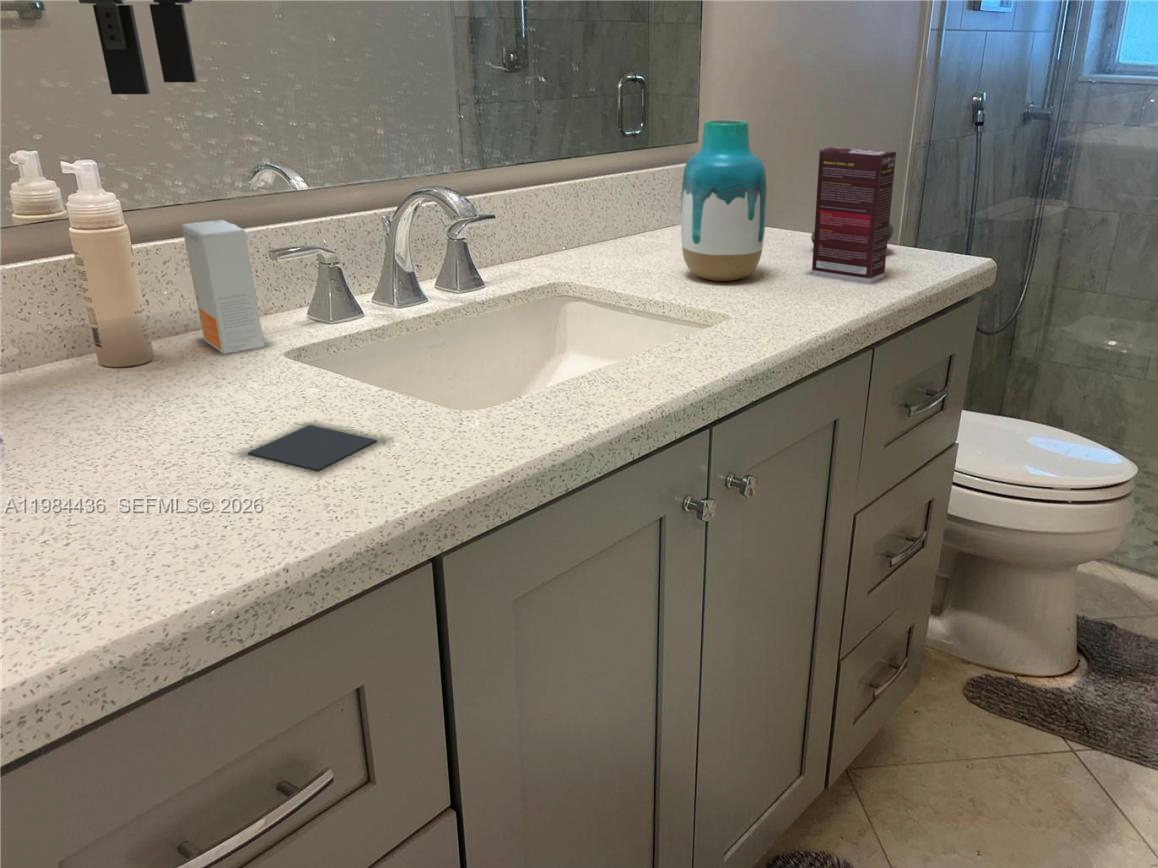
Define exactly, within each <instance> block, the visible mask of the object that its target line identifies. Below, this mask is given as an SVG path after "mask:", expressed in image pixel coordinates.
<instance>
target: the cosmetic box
mask: <svg viewBox="0 0 1158 868" xmlns="http://www.w3.org/2000/svg"><path fill="white" fill-rule="evenodd" d="M181 228H182V233H183V238H184V239H183V240H184V243H185V249H186V254H187V259H188V264H189V270H190V274H191V275H190V276H191V280H192V286H193V290H194V295H195V300H196V306H197V311H198V316H199V323H200V327H201V332H202V338H203V341H204V342H206V343H207V344H209V345H210V346H212V347H213V348H215V349H216V350H218V352H220V353H221V354H222V355H226V354H232V353H237V352H243V351H248V350H253V349H259V348H264V347H265V342H264V335H263V331H262V325H261V319H260V313H259V307H258V301H257V295H256V288H255V283H254V278H253V277H254V276H253V271H252V265H251V258H250V254H249V248H248V242H247V236H246V230H245V229H244V228H241V227H239V226H238V225H237V224H235V223H231V222H228V221H226V220H224V219H217V220H209V221H198V222H189V223H183V224H181Z"/></svg>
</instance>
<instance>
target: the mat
mask: <svg viewBox="0 0 1158 868" xmlns="http://www.w3.org/2000/svg"><path fill="white" fill-rule="evenodd" d="M376 443H378V440H377V439H375V438H371V437H367V436H366V437H365V436H361V435H358V434H357V435H356V434H352V433H349V432H343V431H339V430H334V429H330V428H325V427H321V426H316V425H312V424H308V425H306V426H304V427H301V428H299V429H297V430H295V431H293V432H291V433H288V434H287V435H283V436H282V437H280V438H277V439H275V440H273V441H271V442H268V443H266V444H264V445H262V446H260V447H257V448H254V449H253V450H250V451H248V452H247V455H248V456H252V457H256V458H260V459H263V460H268V461H272V462H276V463H281V464H284V465H288V466H293V467H297V468H300V469H304V470H309V471H311V472H312V471H313V472H317V473H318V472H320V471H323V470H324V469H327V468H328V467H331V466H332V465H334V464H337V463H338V462H340V461H342V460H344V459H346V458H348V457H351V456H353V455H355V454H357V453H358V452H360V451H363V450H364V449H366V448H368V447H370V446H372V445H374V444H376Z"/></svg>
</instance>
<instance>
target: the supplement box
mask: <svg viewBox="0 0 1158 868" xmlns="http://www.w3.org/2000/svg"><path fill="white" fill-rule="evenodd" d="M896 156H897V151H891V150H890V151H889V150H878V149H876V150H875V149H867V148H866V149H865V148H852V147H844V146H843V147H842V146H830V147H825V148H822V149H819V156H818V170H817V184H816V185H817V187H816V200H815V217H814V231H813V232H814V244H813V249H812V263H811V267H812V268H811V275H814V276H820V277H824V278H825V277H826V278H831V279H832V278H833V279H838V280H844V281H851V282H856V283H863V284H873V283H875V282H877V281H879V280H881V279H883V278H885V271H886V261H887V252H888V242H889V241H888V231H889V223H890V220H891V219H890V218H891V209H892V198H893V187H894V180H895V179H894V178H895V167H896ZM887 241H888V242H887Z"/></svg>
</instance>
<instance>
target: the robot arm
mask: <svg viewBox="0 0 1158 868" xmlns="http://www.w3.org/2000/svg"><path fill="white" fill-rule="evenodd" d="M152 1H153V3H149V10H150V16H151V21H152V26H153V31H154V37H155V43H156V48H157V52H158V57H159V63H160V67H161V73H162V78H163V82H164V83H197V82H198V80H197V75H196V74H197V73H196V69H195V63H194V62H195V61H194V57H193V51H192V45H191V40H190V35H189V29H188V23H187V18H186V17H187V16H186V11H185V6H184V4H193V1H194V0H152ZM78 2H79V4H81V5H82V4H85V5H87V4H88V5H89V4H90V5H92V8H93V9H92V10H93V13H94V18H95V23H96V27H97V32H98V37H99V42H100V46H101V50H102V55H103V60H104V65H105V69H106V74H107V79H108V83H109V84H108V85H109V88H110V94H111V95H150V94H151V93H150V87H149V81H148V77H147V72H146V67H145V62H144V57H143V51H142V46H141V42H140V37H139V36H140V35H139V31H138V26H137V21H136V16H135V11H134V6H133V4H126V3H127V0H78Z"/></svg>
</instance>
